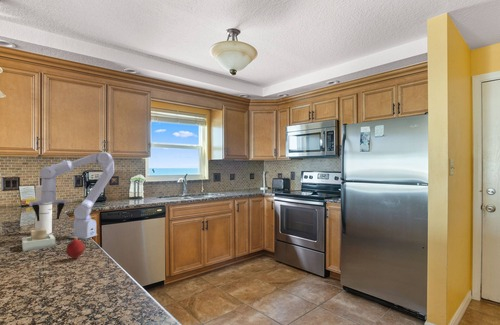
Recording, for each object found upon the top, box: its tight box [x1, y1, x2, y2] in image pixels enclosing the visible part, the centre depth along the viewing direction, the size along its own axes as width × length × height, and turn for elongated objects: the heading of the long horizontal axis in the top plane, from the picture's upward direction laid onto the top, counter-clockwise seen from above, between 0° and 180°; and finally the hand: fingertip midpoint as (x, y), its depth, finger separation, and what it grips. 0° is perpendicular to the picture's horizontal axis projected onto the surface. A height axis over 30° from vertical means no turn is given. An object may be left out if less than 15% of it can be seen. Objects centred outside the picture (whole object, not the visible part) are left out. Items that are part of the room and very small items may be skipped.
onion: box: [65, 237, 86, 260], centre depth 105 cm, size 6×6×8 cm
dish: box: [21, 233, 56, 252], centre depth 122 cm, size 11×11×4 cm
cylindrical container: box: [34, 185, 53, 235], centre depth 147 cm, size 7×7×25 cm
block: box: [30, 228, 47, 241], centre depth 122 cm, size 5×5×6 cm
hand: (48, 219), depth 134 cm, fingers open, 7 cm apart
